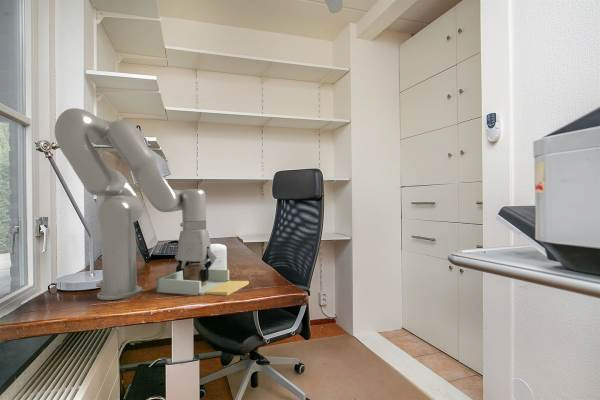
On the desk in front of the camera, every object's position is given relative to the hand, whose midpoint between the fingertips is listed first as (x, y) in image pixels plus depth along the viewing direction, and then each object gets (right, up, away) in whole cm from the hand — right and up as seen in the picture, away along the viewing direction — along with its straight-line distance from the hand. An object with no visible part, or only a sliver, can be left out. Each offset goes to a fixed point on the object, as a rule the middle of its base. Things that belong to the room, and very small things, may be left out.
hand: (195, 279), depth 106 cm
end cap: (-9, -4, +19) cm, 21 cm away
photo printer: (+1, -3, +20) cm, 20 cm away
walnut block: (0, -2, 0) cm, 2 cm away
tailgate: (+7, -2, -2) cm, 8 cm away
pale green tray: (0, -3, 0) cm, 3 cm away
